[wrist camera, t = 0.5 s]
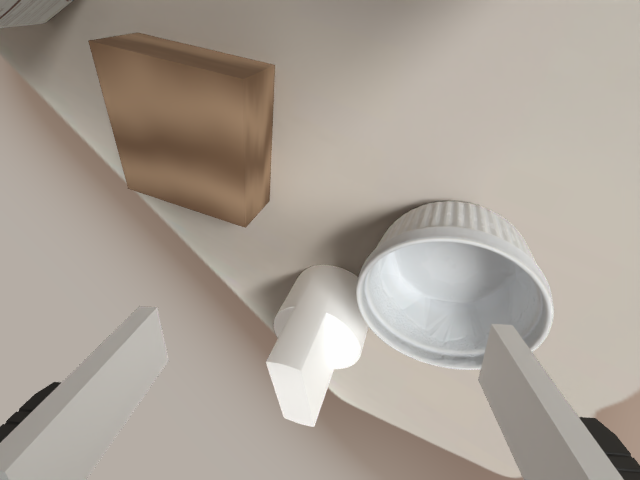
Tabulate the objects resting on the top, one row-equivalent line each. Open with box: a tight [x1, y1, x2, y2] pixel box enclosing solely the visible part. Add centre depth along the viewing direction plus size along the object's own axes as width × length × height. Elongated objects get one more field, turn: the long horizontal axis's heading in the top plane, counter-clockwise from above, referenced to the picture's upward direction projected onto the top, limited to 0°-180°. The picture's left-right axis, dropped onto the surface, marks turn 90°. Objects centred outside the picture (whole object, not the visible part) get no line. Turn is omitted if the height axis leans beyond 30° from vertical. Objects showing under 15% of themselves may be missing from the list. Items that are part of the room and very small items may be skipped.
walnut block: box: [89, 33, 275, 228], centre depth 28 cm, size 12×12×5 cm
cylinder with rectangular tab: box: [266, 265, 369, 427], centre depth 33 cm, size 9×9×12 cm
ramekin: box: [356, 201, 554, 370], centre depth 27 cm, size 13×13×7 cm
